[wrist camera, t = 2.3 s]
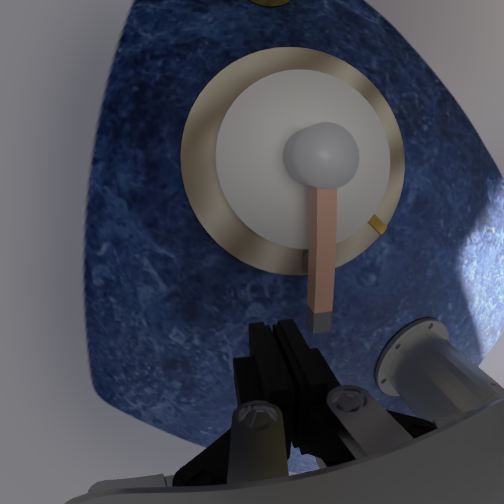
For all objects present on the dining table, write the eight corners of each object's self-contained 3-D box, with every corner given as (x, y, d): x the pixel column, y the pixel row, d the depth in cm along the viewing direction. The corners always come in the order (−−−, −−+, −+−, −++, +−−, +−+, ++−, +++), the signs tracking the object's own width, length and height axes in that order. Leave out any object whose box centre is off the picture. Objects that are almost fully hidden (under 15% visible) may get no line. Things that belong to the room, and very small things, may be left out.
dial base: (426, 154, 29) (437, 154, 27) (312, 308, 32) (318, 316, 30) (279, 15, 23) (283, 7, 22) (135, 181, 26) (130, 182, 24)
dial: (213, 72, 23) (214, 49, 18) (377, 84, 25) (408, 71, 20) (224, 316, 29) (228, 346, 24) (374, 299, 31) (401, 321, 26)
